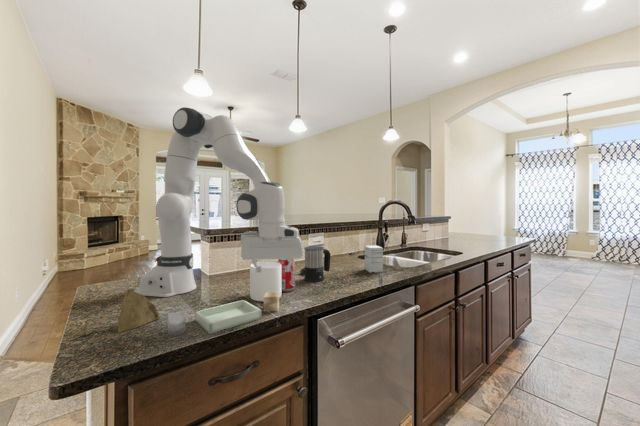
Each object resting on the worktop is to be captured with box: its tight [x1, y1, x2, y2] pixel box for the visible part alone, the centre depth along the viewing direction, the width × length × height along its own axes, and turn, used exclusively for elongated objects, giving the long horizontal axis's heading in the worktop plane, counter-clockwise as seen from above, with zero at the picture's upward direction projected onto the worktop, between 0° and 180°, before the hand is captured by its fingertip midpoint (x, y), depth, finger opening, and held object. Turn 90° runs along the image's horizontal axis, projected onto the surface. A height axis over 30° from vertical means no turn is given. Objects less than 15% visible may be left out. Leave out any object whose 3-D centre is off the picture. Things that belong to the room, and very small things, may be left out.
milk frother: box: [299, 245, 331, 283], centre depth 136 cm, size 14×16×15 cm
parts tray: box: [194, 299, 263, 335], centre depth 88 cm, size 16×12×3 cm
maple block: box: [263, 292, 280, 313], centre depth 96 cm, size 4×4×5 cm
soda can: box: [277, 259, 296, 292], centre depth 117 cm, size 7×7×13 cm
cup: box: [249, 261, 283, 302], centre depth 109 cm, size 12×12×12 cm
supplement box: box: [364, 245, 384, 274], centre depth 148 cm, size 7×7×13 cm
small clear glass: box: [166, 308, 186, 336], centre depth 80 cm, size 4×4×6 cm
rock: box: [117, 290, 161, 334], centre depth 84 cm, size 11×9×10 cm
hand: (273, 271), depth 96 cm, fingers open, 8 cm apart
